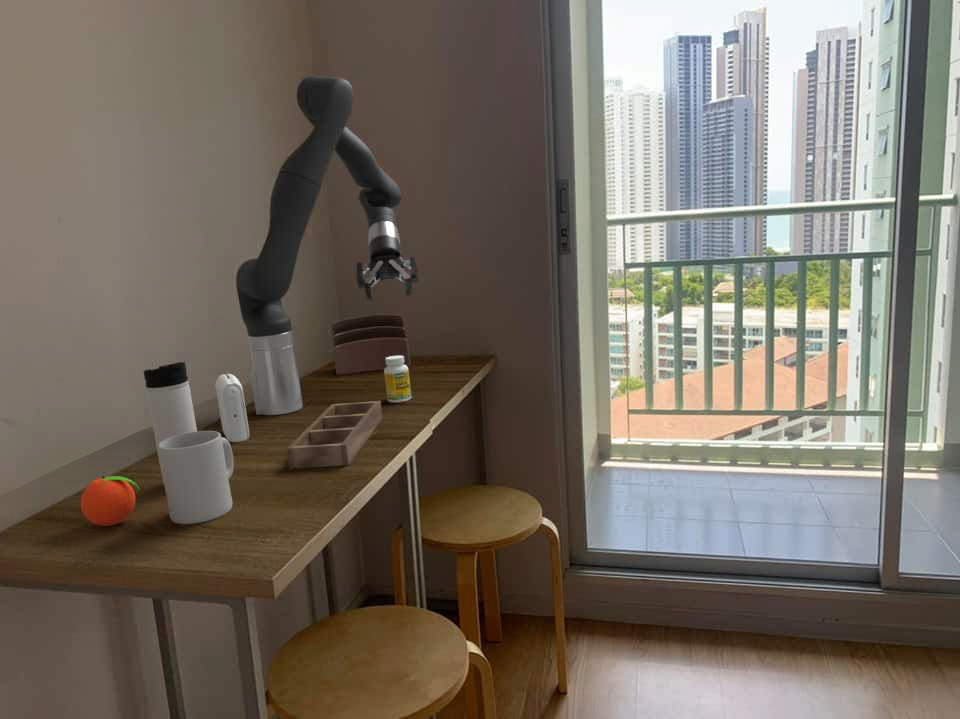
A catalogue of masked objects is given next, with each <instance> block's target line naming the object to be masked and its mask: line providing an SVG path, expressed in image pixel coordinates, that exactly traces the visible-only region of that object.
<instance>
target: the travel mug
mask: <svg viewBox="0 0 960 719" xmlns="http://www.w3.org/2000/svg"><path fill="white" fill-rule="evenodd" d="M187 374H188V373H187V366H186V362H185V361H183V362H181V361H178V362H174V363H170V364H166V365H165V364H164V365H162V366H161V365H160V366H158V368H153V369H149V368H147V369H145V370H143V377H144V380H145V390H146V395H147V401H148V408H149V412H150V417H151V423H152V428H153V434H154V441H155V444H156V445H155V446H156V452H157V457H158V462H159V466H160V467H159V468H160V472H161V477H162V483H163V484H162V485H163V488H165V484H164V479H163V473H162V468H161V462H160V457H159V451H158V445H159V443H160V442H162V441H164V440H166V439H168V438H170V437H173V436H177V435H180V434H185V433H190V432H197V431H198V429H197V428H198V427H197V424H196V423H197V422H196V417H195V411H194V406H193V400H192V394H191V388H190V384H189V382H190V381H189V378H188V375H187Z"/></svg>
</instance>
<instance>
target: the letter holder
mask: <svg viewBox="0 0 960 719" xmlns="http://www.w3.org/2000/svg"><path fill="white" fill-rule="evenodd" d="M331 331H332V344H333V346H332V347H333V358H334V365H335V366H334V367H335V373H336V376H344V375H351V374H352V375H353V374H358V373H368V372H376V371H384V369H385V368H386V367H388V365H386V358H387V357H390V356H404V363H403V365H406V366H407V367H408V368H409V367H411V366H412V363H411V356H410V354H411V353H410V347H409V340H408V338H407V329H406V328H405V319H404V317H403V315H401V314H396V313H394V314H393V313H380V314H379V313H378V314H377V313H376V314H367V315H357V316H352V317H348V318H344V319H340V320H336V321H335V320H334V321H333V322H332V324H331Z"/></svg>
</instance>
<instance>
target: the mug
mask: <svg viewBox="0 0 960 719" xmlns="http://www.w3.org/2000/svg"><path fill="white" fill-rule="evenodd" d="M158 451H159V457H160V462H161V468H162V473H163V477H162V480H163V479H164V484H165V487H164V488H165V490H164V491H165V495H166V499H167V506H168V514H169V518H170V521H172V522H173V523H175V524H178V525H179V524H180V525H196V524H203V523H206V522H209V521H210V522H211V521H213V520H215V519H218V518H221V517H222V516H224V515H226V514H228V513H229V512H230V511H232V509H233V508H232V507H233V499H232V493H231V492H232V491H231V487H230V482H229V479H230V478H231V477H232V475H233V472H234V467H235V466H234V465H235V464H234V460H235V459H234V455H233V450H232V447H231V443H230V441H229V440H228V439H227V438H226V437H222V434H221V433H220V432H218V431H215V430H199V431H198V430H197V432H190V433H185V434H180V435H177V436H173V437H170V438H168V439H166V440H164V441H162V442H160V443H159V445H158ZM158 451H157V452H158ZM159 457H158V458H159ZM160 462H159V463H160ZM161 468H160V469H161ZM162 473H161V474H162ZM164 484H163V485H164Z"/></svg>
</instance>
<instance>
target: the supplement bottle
mask: <svg viewBox="0 0 960 719" xmlns="http://www.w3.org/2000/svg"><path fill="white" fill-rule="evenodd" d="M403 363H404V356H390V357H387V358H386V365H388V367H386V368H385V369H384V370H383V375H384V383H385V391H386V398H387V399H386V400H387V402H389V403H395V404H396V403H397V404H398V403H403V402H407V401H410V400H411V398H412V389H411V382H410V371H409V367H407V366H406V365H403Z"/></svg>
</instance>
